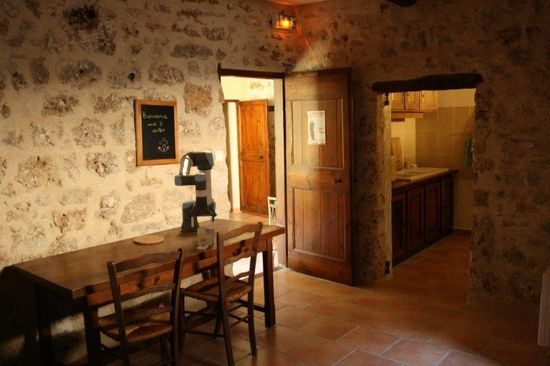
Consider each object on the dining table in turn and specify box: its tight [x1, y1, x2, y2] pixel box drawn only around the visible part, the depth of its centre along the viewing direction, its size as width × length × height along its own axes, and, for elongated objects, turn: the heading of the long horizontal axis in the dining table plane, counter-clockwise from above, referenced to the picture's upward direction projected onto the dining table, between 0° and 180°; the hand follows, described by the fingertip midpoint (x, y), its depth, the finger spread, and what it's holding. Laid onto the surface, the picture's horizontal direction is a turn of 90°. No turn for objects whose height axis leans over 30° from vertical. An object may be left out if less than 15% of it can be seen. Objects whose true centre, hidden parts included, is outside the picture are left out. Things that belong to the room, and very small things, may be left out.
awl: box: [200, 233, 206, 247], centre depth 348 cm, size 3×3×9 cm
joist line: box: [196, 245, 210, 250], centre depth 355 cm, size 24×6×1 cm, turn 174°
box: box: [196, 226, 215, 246], centre depth 356 cm, size 10×6×12 cm, turn 84°
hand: (202, 226), depth 347 cm, fingers open, 13 cm apart
